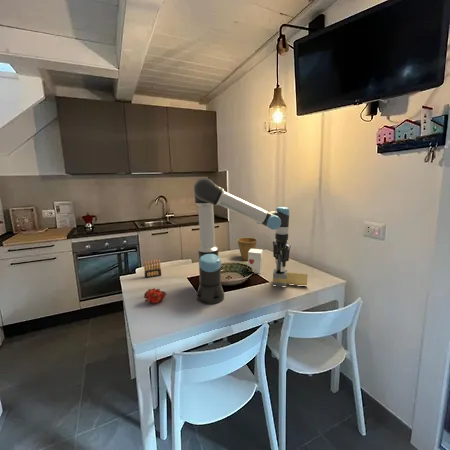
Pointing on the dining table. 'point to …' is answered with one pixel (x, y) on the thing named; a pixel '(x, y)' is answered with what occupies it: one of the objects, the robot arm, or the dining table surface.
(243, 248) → the plant pot
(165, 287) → the dining table surface
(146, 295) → the dragon fruit
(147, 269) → the ammunition clip
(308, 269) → the dining table surface
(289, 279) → the hinge
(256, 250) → the supplement box
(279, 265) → the hinge pin
